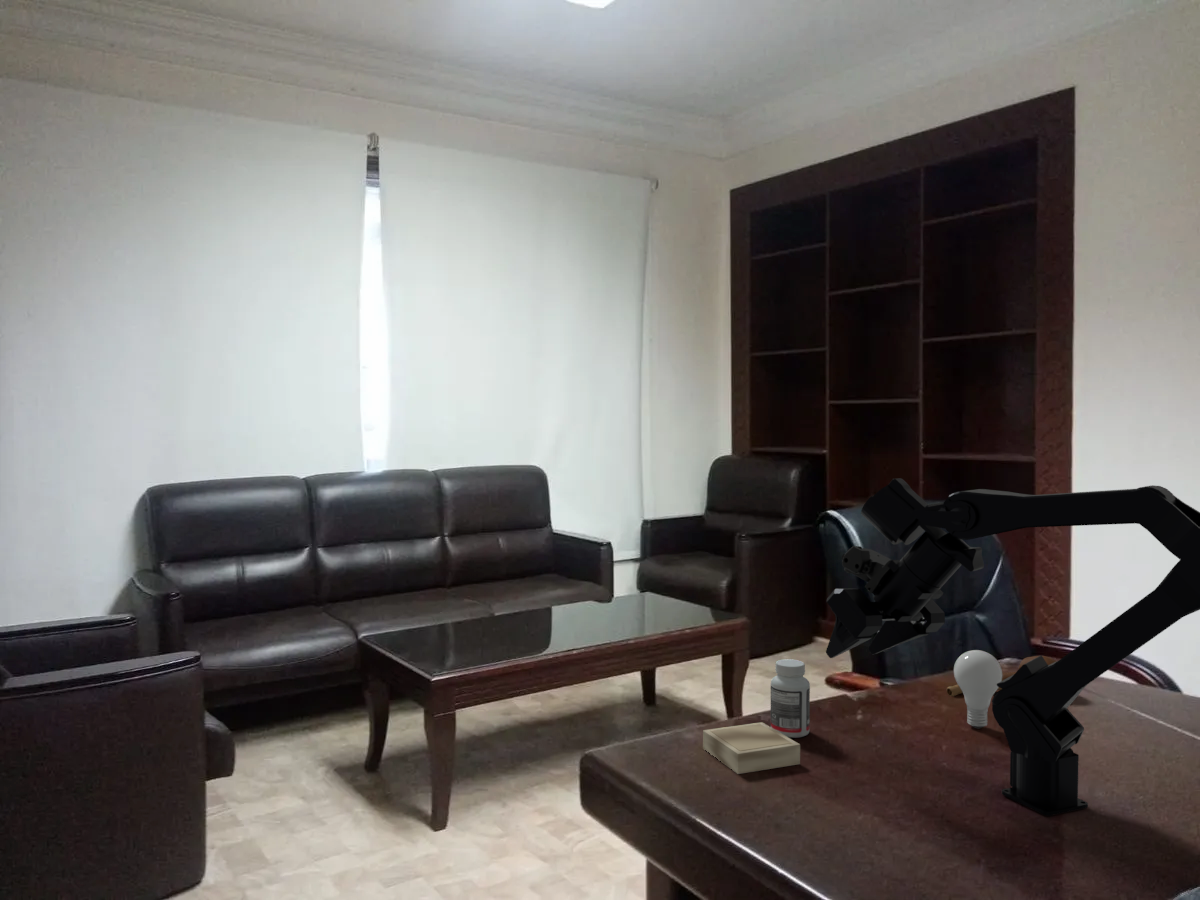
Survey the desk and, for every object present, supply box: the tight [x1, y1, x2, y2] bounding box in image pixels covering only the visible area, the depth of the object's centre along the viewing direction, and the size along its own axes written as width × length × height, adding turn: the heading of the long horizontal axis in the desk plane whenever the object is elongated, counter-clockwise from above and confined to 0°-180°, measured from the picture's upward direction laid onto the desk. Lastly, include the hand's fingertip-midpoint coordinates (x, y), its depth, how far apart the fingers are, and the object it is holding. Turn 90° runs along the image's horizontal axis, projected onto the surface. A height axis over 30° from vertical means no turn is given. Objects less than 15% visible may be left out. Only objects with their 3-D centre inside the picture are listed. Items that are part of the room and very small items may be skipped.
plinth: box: [702, 721, 801, 775], centre depth 113 cm, size 9×9×3 cm
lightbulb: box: [953, 649, 1003, 729], centre depth 124 cm, size 6×6×11 cm
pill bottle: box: [770, 658, 811, 739], centre depth 122 cm, size 5×5×10 cm
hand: (850, 653), depth 116 cm, fingers open, 9 cm apart
